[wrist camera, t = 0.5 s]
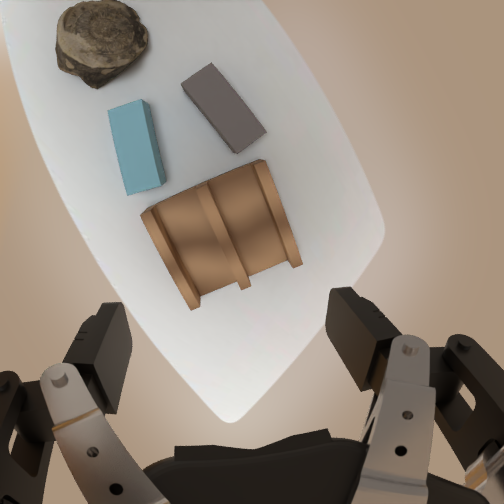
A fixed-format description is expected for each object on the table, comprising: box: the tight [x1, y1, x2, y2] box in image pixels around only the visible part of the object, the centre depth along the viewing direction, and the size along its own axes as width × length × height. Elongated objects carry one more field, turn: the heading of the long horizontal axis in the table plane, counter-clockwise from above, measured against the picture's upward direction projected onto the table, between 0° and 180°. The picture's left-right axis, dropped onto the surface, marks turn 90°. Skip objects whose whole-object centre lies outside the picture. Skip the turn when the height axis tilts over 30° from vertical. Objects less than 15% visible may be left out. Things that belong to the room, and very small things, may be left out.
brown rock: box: [55, 0, 148, 89], centre depth 21 cm, size 11×9×10 cm
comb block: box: [140, 159, 303, 310], centre depth 32 cm, size 12×14×4 cm
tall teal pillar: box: [108, 99, 166, 196], centre depth 27 cm, size 9×4×4 cm, turn 11°
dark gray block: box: [181, 63, 267, 154], centre depth 27 cm, size 9×4×4 cm, turn 36°
